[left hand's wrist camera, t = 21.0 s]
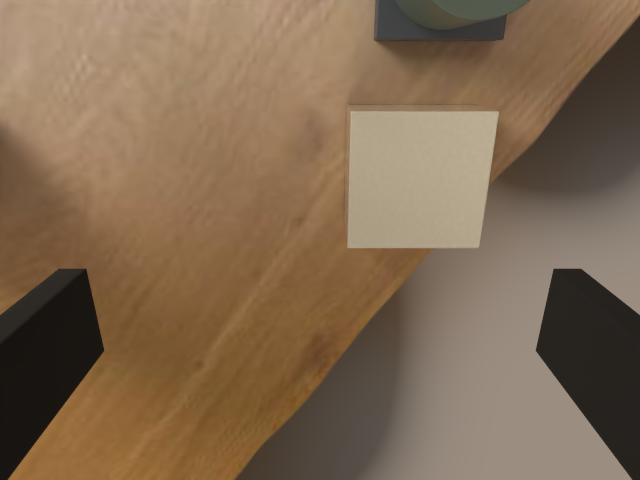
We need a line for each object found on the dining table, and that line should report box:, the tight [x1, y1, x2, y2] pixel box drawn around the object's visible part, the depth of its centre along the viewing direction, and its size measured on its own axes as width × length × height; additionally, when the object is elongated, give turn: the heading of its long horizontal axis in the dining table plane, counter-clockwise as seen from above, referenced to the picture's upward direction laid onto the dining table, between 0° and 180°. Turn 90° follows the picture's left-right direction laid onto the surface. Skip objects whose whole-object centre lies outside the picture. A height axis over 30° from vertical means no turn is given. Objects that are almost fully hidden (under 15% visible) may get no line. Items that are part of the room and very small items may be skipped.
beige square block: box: [344, 105, 499, 248], centre depth 34 cm, size 10×10×5 cm
